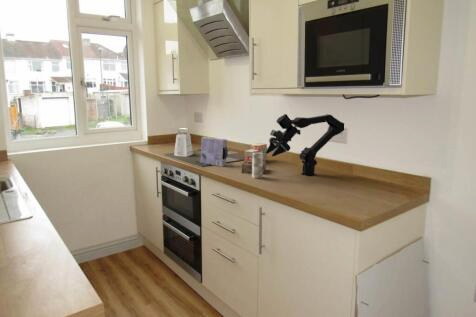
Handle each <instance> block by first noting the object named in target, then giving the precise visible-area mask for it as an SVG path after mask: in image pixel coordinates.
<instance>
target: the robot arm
mask: <svg viewBox="0 0 476 317" xmlns="http://www.w3.org/2000/svg"><path fill="white" fill-rule="evenodd" d="M276 123H277V124H278V125H279V126H280V128H281V129H282V130H284V131H283V132H282V131H281V130H279V129H278V130H275V129H272V130H271V132H270V134H269V135H270V138H269V139H268V142H269V145H268V146H267V151H266V153H267V155H268V154H269V153H271V152H272V154H271V157H276V156H278V155H281V154H284V153H286V152H289V151H290V150H291V146H290V144H288V143H289V142H292V139H293V138H294V137H295V136H296V135H299V136H300V135H301V129H304V128H307V127H309V126H311V125H315V124H322V123H327V125H328V129H327V131H326V132H325V133H324V134H322V136H321V137H320V138H319V139H318V140H316V142H314V144H312V145H311V146H310V147H304V148H303V150H301V151H300V153H299V160H301V164H302V172H301V173H300V174H301V175H304V176H308V177H310V176H316V175H317V173H315V172H316V171H315V170H316V169H315V168H316V166H317V164H318V161H317V160H316V159H315V158H316V156H317V154H318V152H319V151H321V149H322V148H323V147H325V145H327V143H329V142H330V140H332V139H333V138H334V137H336V136H338V135H340V134H341V133H343V132H344V131H345V129H344V125H345V123H344V122H342V121H341V120H339V119H337V118H336V117H334V115H332V114H328V113H326V114H325V115H317V116H312V117H302V116H301V117H297V116H296V117H295V118H294V119H291V118H290V117H289V115H288V114H286V113H284V114H283V115H281V116H280V117H278V118H277V120H276ZM298 128H299V129H298Z"/></svg>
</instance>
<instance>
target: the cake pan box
mask: <svg viewBox="0 0 476 317" xmlns="http://www.w3.org/2000/svg"><path fill="white" fill-rule="evenodd" d="M200 145H201V146H200V148H201V149H200V164H204V165H205V164H206V165H209V164H211V165H210V166H216V167H221V168H222V167H226V166H227V157H228V154H229V153H228V139H224V138H217V137H208V136H202V137H201V143H200Z"/></svg>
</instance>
